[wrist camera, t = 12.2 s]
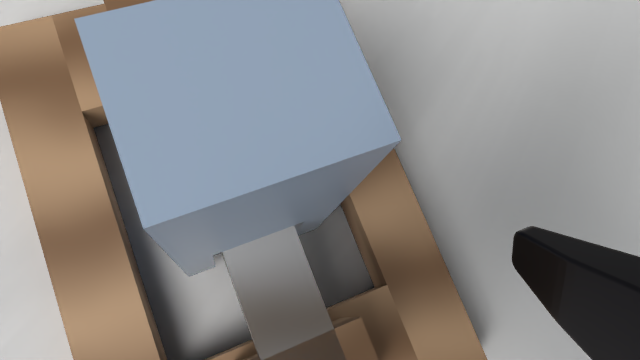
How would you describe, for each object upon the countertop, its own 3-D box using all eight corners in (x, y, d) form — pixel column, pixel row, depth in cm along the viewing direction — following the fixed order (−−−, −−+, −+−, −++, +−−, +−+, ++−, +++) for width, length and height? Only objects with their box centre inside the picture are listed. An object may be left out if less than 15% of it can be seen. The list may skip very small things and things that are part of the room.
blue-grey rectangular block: (277, 132, 24) (321, -38, 13) (316, 228, 23) (401, 139, 12) (153, 171, 22) (74, 18, 11) (188, 276, 21) (143, 228, 10)
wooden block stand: (469, 363, 24) (536, 375, 19) (136, 526, 20) (103, 600, 15) (304, -18, 28) (321, -95, 23) (0, 53, 24) (-64, -20, 19)
